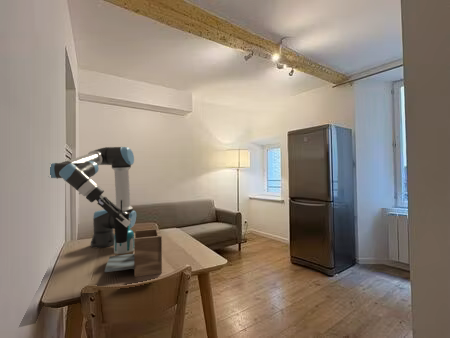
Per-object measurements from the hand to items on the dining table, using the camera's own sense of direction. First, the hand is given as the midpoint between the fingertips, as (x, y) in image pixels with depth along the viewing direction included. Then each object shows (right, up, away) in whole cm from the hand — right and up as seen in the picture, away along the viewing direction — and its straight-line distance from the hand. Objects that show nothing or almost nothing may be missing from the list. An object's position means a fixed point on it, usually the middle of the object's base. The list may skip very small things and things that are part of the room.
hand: (129, 223), depth 118 cm
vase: (-9, -23, +17) cm, 30 cm away
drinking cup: (-3, -9, -1) cm, 9 cm away
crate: (+3, -23, 0) cm, 23 cm away
